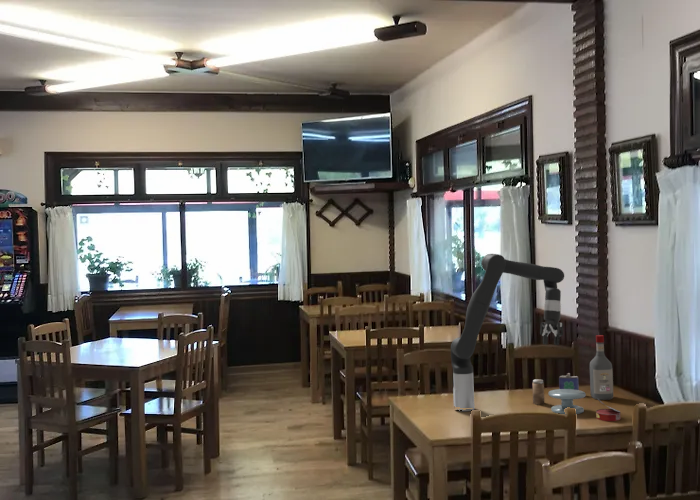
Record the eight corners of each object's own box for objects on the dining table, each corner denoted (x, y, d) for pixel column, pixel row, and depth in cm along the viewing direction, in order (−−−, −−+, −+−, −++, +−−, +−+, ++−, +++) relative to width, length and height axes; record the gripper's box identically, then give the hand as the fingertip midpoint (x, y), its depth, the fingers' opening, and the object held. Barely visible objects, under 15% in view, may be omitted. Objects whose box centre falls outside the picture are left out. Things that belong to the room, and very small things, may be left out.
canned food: (600, 426, 305) (601, 403, 309) (624, 426, 299) (624, 403, 303) (590, 419, 298) (591, 396, 302) (614, 419, 291) (614, 396, 295)
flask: (578, 393, 346) (577, 372, 346) (579, 395, 343) (578, 373, 343) (559, 393, 348) (558, 372, 348) (559, 395, 345) (558, 373, 345)
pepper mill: (534, 404, 328) (533, 381, 328) (531, 402, 333) (531, 379, 333) (545, 404, 328) (544, 381, 328) (542, 401, 333) (542, 378, 333)
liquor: (614, 399, 332) (612, 336, 331) (595, 400, 332) (593, 337, 331) (608, 395, 341) (606, 333, 340) (589, 395, 341) (587, 334, 340)
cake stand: (554, 415, 308) (554, 397, 307) (545, 406, 324) (544, 389, 323) (591, 414, 307) (590, 396, 307) (579, 405, 323) (578, 388, 323)
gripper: (536, 309, 336) (535, 343, 334) (555, 309, 323) (553, 344, 321) (549, 311, 339) (547, 344, 337) (568, 310, 326) (567, 345, 323)
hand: (550, 344), depth 329 cm, fingers open, 8 cm apart
